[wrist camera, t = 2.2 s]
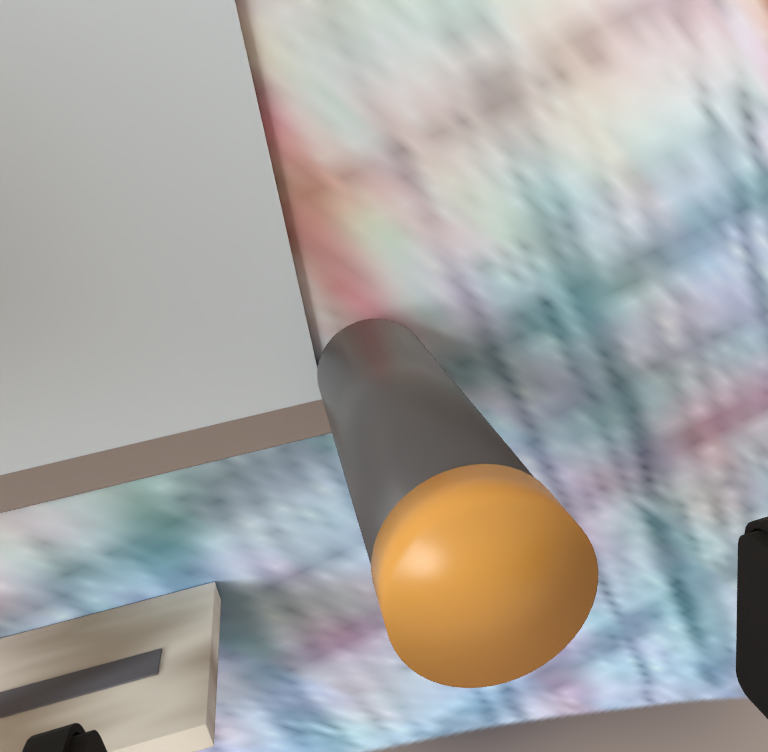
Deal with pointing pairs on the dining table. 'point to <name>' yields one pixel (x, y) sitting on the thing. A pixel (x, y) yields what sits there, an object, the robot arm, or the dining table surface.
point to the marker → (450, 517)
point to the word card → (118, 675)
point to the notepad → (139, 251)
